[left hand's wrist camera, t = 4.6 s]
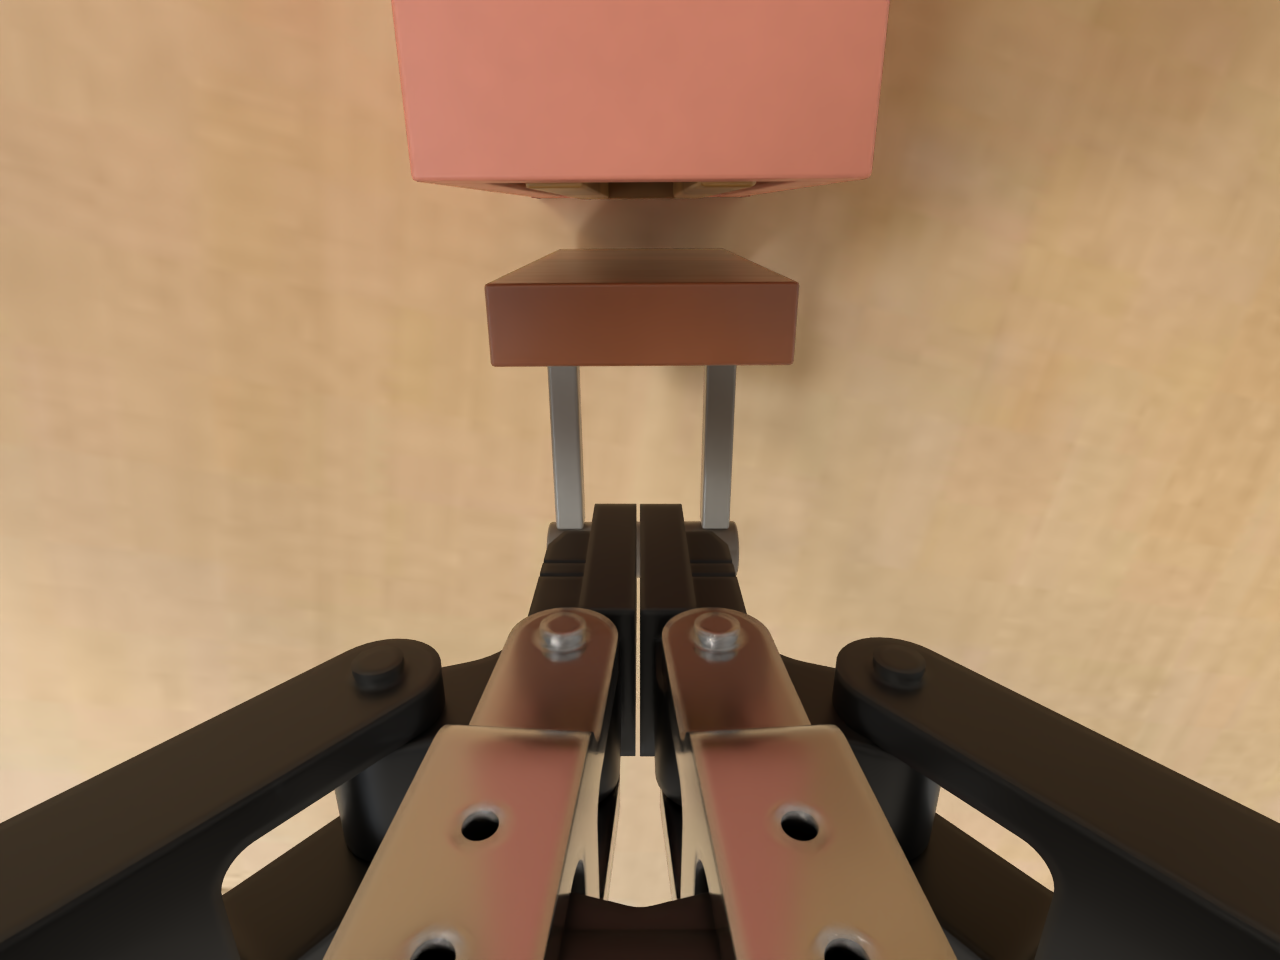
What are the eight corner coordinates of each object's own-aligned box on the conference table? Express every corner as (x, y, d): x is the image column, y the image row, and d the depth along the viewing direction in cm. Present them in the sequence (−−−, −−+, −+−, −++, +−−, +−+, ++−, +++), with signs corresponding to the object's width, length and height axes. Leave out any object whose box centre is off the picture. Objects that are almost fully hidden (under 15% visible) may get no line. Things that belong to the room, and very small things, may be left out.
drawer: (715, 482, 21) (769, 679, 12) (568, 483, 21) (517, 681, 12) (755, -603, 13) (996, -2311, 4) (518, -600, 13) (262, -2299, 4)
